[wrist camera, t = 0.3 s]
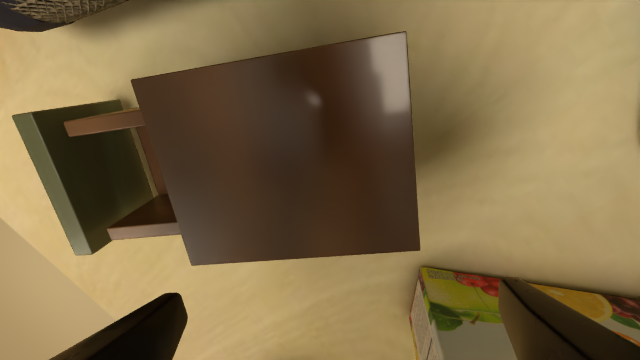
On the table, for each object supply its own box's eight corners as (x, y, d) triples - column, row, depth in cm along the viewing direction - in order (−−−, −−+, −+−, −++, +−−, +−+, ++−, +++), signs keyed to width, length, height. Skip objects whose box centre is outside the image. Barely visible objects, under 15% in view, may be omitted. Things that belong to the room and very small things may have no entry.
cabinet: (244, 203, 24) (191, 265, 17) (212, 74, 21) (129, 79, 14) (400, 188, 22) (420, 251, 15) (389, 43, 19) (406, 30, 12)
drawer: (129, 211, 25) (57, 257, 19) (89, 104, 22) (-9, 118, 16) (275, 197, 23) (244, 243, 17) (249, 77, 20) (202, 83, 14)
